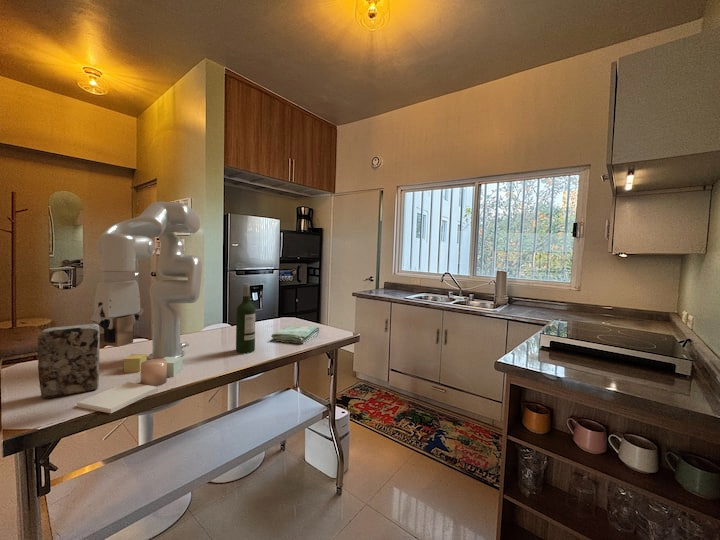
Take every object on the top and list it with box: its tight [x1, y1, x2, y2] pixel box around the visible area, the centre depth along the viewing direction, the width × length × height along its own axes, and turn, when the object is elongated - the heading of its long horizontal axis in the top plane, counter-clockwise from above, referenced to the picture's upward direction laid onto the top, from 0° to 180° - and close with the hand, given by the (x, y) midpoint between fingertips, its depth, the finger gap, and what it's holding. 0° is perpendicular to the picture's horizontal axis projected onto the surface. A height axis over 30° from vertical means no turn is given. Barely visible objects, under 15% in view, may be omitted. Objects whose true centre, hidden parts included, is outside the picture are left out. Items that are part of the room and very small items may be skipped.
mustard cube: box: [123, 353, 148, 373], centre depth 109 cm, size 5×5×5 cm
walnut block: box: [104, 315, 134, 348], centre depth 86 cm, size 4×4×8 cm
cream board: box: [76, 381, 159, 414], centre depth 88 cm, size 14×12×1 cm
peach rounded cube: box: [140, 359, 168, 387], centre depth 98 cm, size 7×7×7 cm
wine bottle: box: [235, 283, 256, 354], centre depth 133 cm, size 8×8×30 cm
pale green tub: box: [163, 356, 184, 378], centre depth 106 cm, size 6×6×5 cm
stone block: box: [37, 323, 101, 399], centre depth 90 cm, size 13×7×20 cm, turn 131°
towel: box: [270, 325, 320, 344], centre depth 157 cm, size 18×21×5 cm
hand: (119, 339), depth 87 cm, fingers closed on walnut block, 4 cm apart
